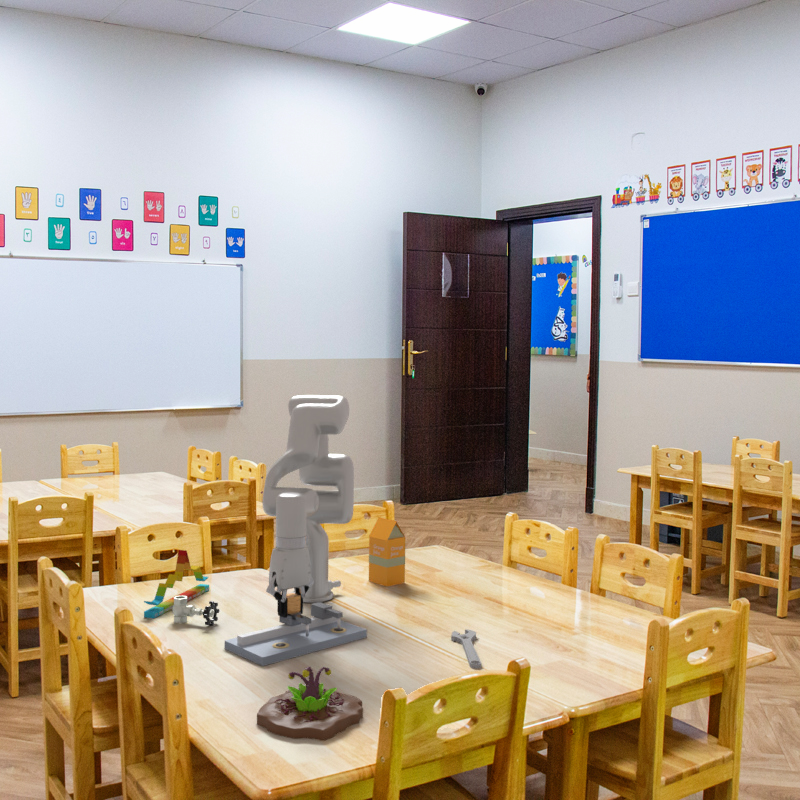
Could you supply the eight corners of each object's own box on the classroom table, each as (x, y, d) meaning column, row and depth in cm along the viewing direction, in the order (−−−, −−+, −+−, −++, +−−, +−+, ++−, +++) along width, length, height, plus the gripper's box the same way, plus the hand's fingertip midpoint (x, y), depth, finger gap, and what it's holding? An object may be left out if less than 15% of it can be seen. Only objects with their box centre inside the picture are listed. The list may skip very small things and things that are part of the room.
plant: (240, 730, 175) (240, 673, 174) (288, 694, 193) (289, 643, 192) (333, 748, 167) (334, 688, 167) (375, 709, 185) (376, 656, 185)
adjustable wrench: (482, 670, 210) (482, 663, 209) (454, 670, 210) (454, 662, 210) (475, 635, 234) (475, 629, 234) (450, 635, 235) (450, 628, 234)
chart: (154, 619, 244) (154, 564, 243) (143, 618, 245) (143, 563, 244) (209, 591, 273) (210, 541, 272) (200, 590, 274) (200, 541, 273)
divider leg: (290, 625, 231) (290, 592, 230) (315, 634, 223) (315, 600, 223) (277, 628, 228) (278, 594, 227) (302, 638, 221) (302, 603, 220)
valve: (166, 624, 239) (206, 629, 235) (166, 599, 239) (206, 604, 235) (180, 617, 245) (219, 622, 241) (180, 593, 245) (219, 598, 241)
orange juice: (386, 577, 292) (387, 515, 290) (405, 582, 285) (406, 519, 284) (368, 581, 286) (368, 518, 285) (386, 586, 280) (387, 522, 279)
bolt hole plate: (327, 622, 242) (327, 596, 242) (366, 637, 231) (367, 610, 230) (224, 648, 220) (224, 620, 220) (262, 666, 209) (262, 636, 208)
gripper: (308, 535, 235) (307, 605, 236) (254, 544, 223) (253, 617, 224) (326, 540, 229) (325, 611, 230) (272, 549, 218) (271, 624, 219)
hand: (290, 613), depth 227 cm, fingers closed on divider leg, 4 cm apart
